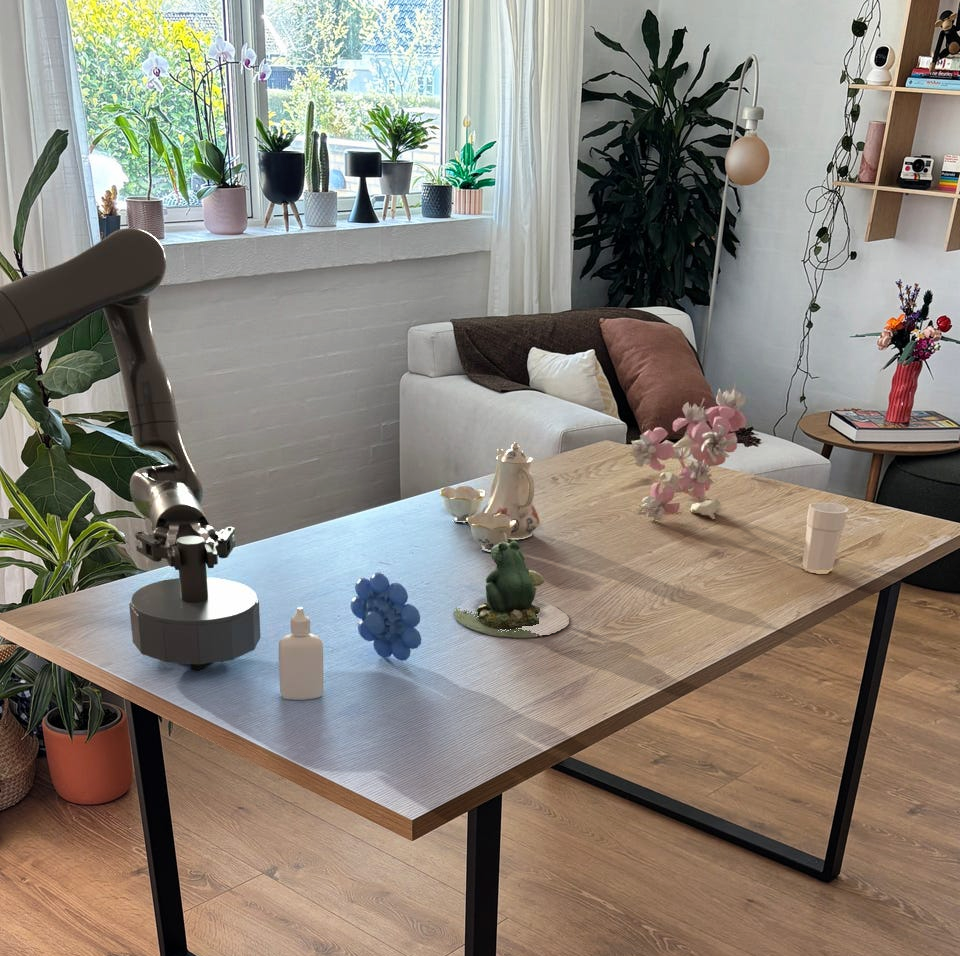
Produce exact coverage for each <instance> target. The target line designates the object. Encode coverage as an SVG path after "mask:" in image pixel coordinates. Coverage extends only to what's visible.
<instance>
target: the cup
mask: <svg viewBox="0 0 960 956" xmlns="http://www.w3.org/2000/svg"><path fill="white" fill-rule="evenodd" d="M848 514H849V508H848V507H847V506H845V505H842V504H839V503H835V502H828V501H816V502H815V501H814V502H810V503H809V505H808V509H807V517H806V532H805V538H804V539H805V540H804V547H803V555H802V563H801V566H802V565H803V566H804V567H805V568H807V569H814V570H830V569H831V568H833V569H834V565H835V560H836V557H837V553H838V550H839V545H840V542H841V538H842V534H843V530H844V528H845V524H846V522H847V517H848Z"/></svg>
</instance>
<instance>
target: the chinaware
mask: <svg viewBox="0 0 960 956" xmlns="http://www.w3.org/2000/svg"><path fill="white" fill-rule="evenodd" d="M496 452H497V456H496V457H495V458H496V460H497V464H496V469H495V472H494V476H493V478H492V483H491V487H490V492H489V500H488V502H487V503H486V505H485V506H484V508H483V509H482V512H479V510H480V508H481V507H482V503H483V500H484V499H485V497H486V494H487V492H486V491H485V490H484V489H477V490H476V489H475V488H473V487H472V486H470V485H460V486H457V487H455V488H454V487H451V486H444V487H442V488H441V490H440V492H439V496H440V498H441V497H442V500H443V505H444V508H445V510H446V512H447V513H448V514H449V515H451V516H452V519H455V520H457V521H467V522H468V523H467V524H469V526H470V531H471V535H472V537H473V539H474V541H475V542H476V543H477V544H479V546H481V547H482V546H483V548H485V549H488V550H491V549H492V548H493V547H494V546H495V545H496V544H498V543H502V542H505V543H508V541H509V540H508V538H524V537H527V536H529V535H531V534H532V533H533V532H534V531H535V530H536V529H537V528H538V527H539V525H540V518H539V517H540V516H539V511H538V510H537V507H536V505H535V503H534V501H533V500H534V496H535V482H534V477H533V475H532V473H531V472H530V468H531V465H532V462H533V461H534V459H533V458H532V457H531V456H528V455H526V454H525V452H524V451H523V450H521V449H520V446H519V444H518V442H516V441H514V442H513V444H512V445H510V448H509V449H507V450H506V451H504V449H502V448H497V449H496ZM478 512H479V513H478Z"/></svg>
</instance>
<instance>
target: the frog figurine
mask: <svg viewBox="0 0 960 956" xmlns="http://www.w3.org/2000/svg"><path fill="white" fill-rule="evenodd" d="M490 556H491V559H492V560H493V562H494V564H495V569H493V570H491V571H490V572H489V574H488V575H487V577H486V579H485V582H486V583H485V597H486V598H487V601H485V603H483V604H482V605H480V606H479V607H478V609H477V611H476V610H475V611H476V612H478V613H476V614H475V613H474V614H471V613H472V611H471V612H470V613H467V610H466V611H465V610H464V611H460V610H459V611H458V609H460V608H458V609H457V607H455V608H454V610H453V616H454V618H455V620H457V622H458V623H460V624H461V625H462V626H464V627H466V628H469V629H470V630H474V631H476V632H478V633H479V632H480V633H482V634H486V635H489V636H493V637H494V636H495V637H504V638H505V637H506V638H519V639H525V638H526V639H527V638H538V637H537V636H540V635H539V634H536V633H531V631H530V630H529V631H527V630H525V631H524V630H522V629H518V628H522V626H533V625H536V624H539V618H537V615H536V614H538V613H539V612H540V607H537V606H535V605H533V604H532V602H533V600H535V597H536V593H537V590H538V588H536V587H538V586H541V585H542V584H544V583H545V578H544V577H543V575H541V574H540V573H539V572H537V571H535V570H529V568H528V567H527V565H526V563H525V560H526V559H525V555H524V554H523V553H522V552H521V550H520V545H519V543H518V542H517V540H511V542H510V543H509V542H507V543H505V542H502V543H498V544H496V545H495V546H494V547H493V548H492V549H491V553H490ZM455 609H456V611H455ZM468 612H469V611H468ZM474 615H475V616H474ZM477 616H479V617H477ZM476 617H477V618H476ZM516 628H517V629H516ZM500 629H502V630H505V629H506V630H505V631H502V630H500ZM510 629H511V630H510ZM498 630H499V631H498ZM507 630H509V631H507ZM518 630H519V631H518ZM501 631H502V632H501ZM506 631H507V632H506ZM514 631H516V632H514ZM536 635H537V636H536ZM540 637H541V636H540Z"/></svg>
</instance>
